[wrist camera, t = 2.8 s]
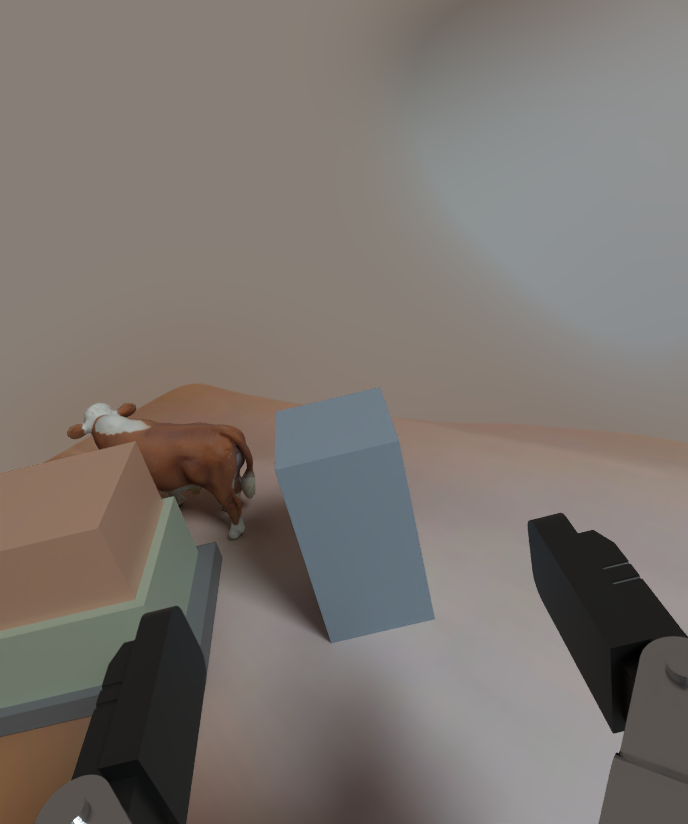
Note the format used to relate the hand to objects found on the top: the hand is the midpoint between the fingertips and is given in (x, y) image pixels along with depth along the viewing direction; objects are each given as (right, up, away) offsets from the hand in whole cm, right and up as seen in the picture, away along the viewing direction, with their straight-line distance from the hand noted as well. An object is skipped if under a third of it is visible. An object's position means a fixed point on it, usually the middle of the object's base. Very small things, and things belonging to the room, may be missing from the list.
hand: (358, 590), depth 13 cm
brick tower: (-12, -8, +18) cm, 23 cm away
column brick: (+1, -5, +17) cm, 17 cm away
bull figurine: (-11, -3, +26) cm, 29 cm away
